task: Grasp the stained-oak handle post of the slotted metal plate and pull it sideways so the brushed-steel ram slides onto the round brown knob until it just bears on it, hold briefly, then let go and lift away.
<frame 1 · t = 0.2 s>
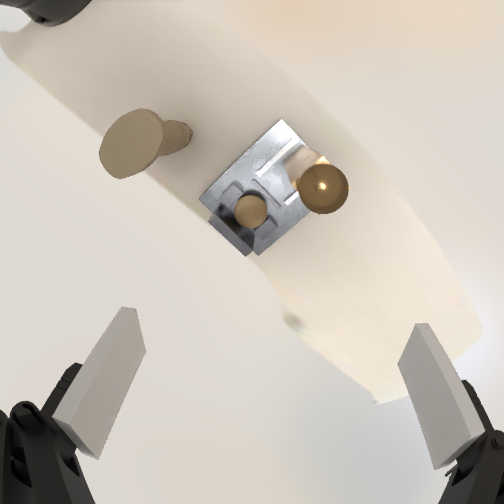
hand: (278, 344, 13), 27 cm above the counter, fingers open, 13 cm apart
slotted metal plate: (268, 188, 37), on the counter
round brown knob: (251, 207, 37), point 1 cm above the counter, touching slotted metal plate
handle: (181, 135, 35), on the counter
lever: (310, 172, 27), point 9 cm above the counter, slide at 0.0 cm
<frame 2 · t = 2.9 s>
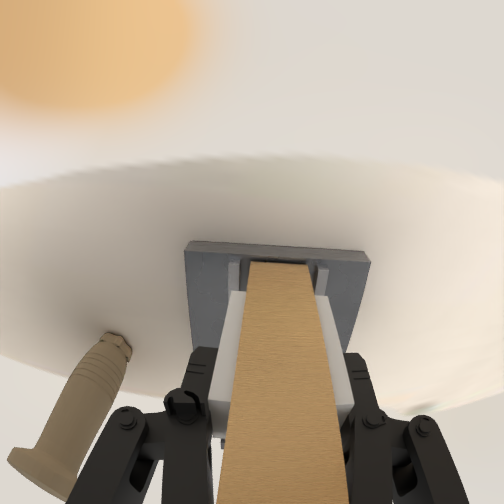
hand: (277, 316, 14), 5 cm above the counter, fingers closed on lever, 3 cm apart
slotted metal plate: (270, 337, 21), on the counter
handle: (117, 343, 23), on the counter
lever: (278, 392, 10), point 10 cm above the counter, slide at 0.0 cm, touching gripper
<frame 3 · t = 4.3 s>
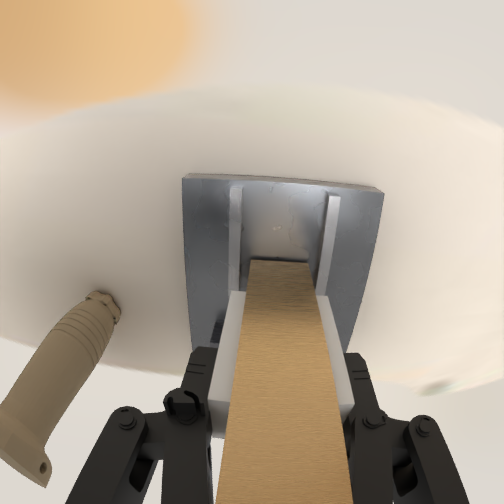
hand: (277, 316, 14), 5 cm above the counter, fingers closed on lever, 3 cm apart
slotted metal plate: (274, 290, 19), on the counter
handle: (106, 305, 21), on the counter
lever: (279, 390, 10), point 9 cm above the counter, slide at 4.1 cm, touching slotted metal plate, gripper
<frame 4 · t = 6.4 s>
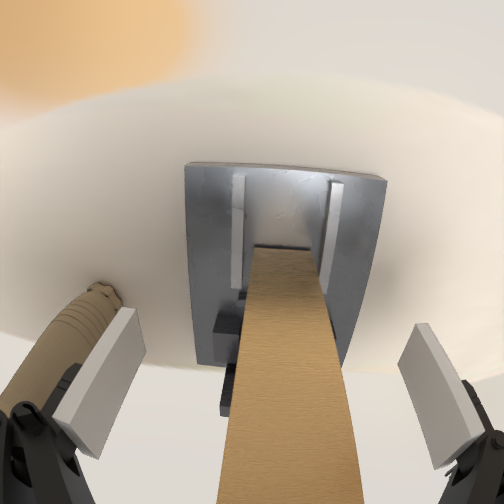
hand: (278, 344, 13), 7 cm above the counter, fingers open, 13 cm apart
slotted metal plate: (278, 279, 19), on the counter
handle: (107, 297, 21), on the counter
lever: (283, 377, 10), point 9 cm above the counter, slide at 4.1 cm
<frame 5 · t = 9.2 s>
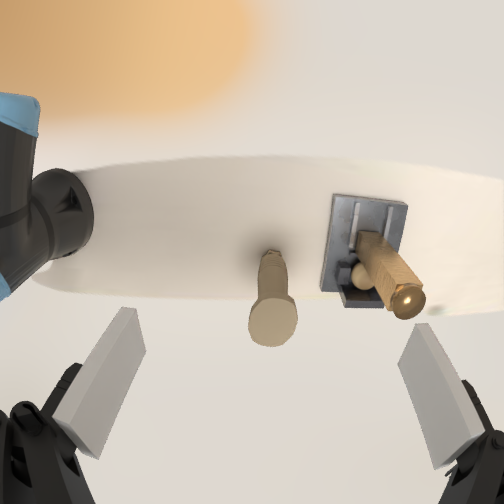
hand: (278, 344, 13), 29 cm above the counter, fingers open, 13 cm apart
slotted metal plate: (362, 246, 41), on the counter
round brown knob: (361, 269, 41), point 1 cm above the counter, touching slotted metal plate
handle: (272, 258, 43), on the counter
lever: (385, 267, 32), point 9 cm above the counter, slide at 4.1 cm
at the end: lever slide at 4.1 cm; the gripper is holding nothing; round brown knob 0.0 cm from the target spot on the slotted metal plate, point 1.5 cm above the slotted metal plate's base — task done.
